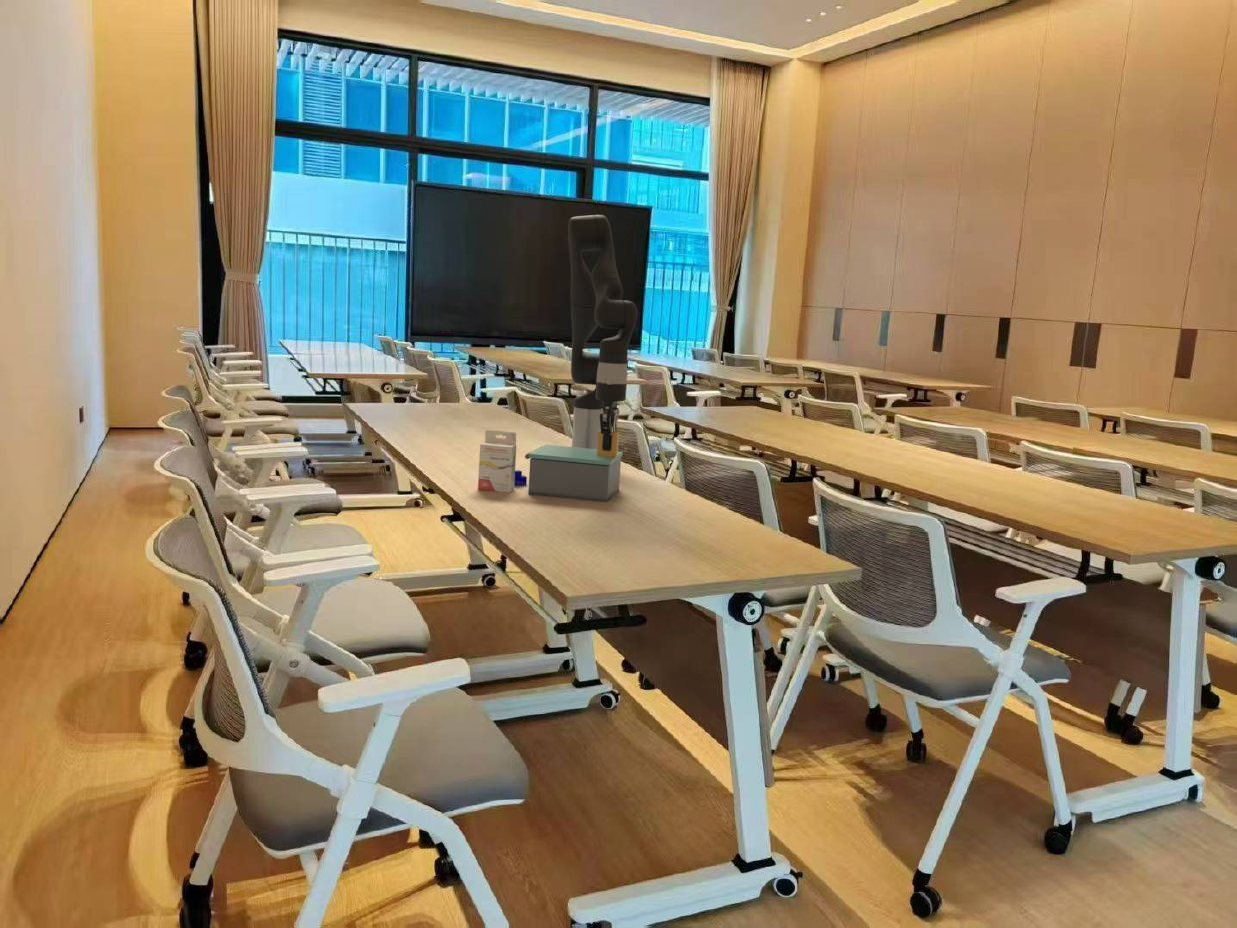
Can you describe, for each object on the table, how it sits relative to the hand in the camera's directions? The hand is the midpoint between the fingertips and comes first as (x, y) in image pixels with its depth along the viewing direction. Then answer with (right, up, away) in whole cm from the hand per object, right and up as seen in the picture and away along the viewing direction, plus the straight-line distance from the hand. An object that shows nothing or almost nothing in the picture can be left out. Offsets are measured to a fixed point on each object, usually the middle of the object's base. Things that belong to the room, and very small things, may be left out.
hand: (607, 449), depth 237 cm
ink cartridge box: (-28, -10, +1) cm, 30 cm away
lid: (-8, -2, +2) cm, 9 cm away
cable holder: (-25, -9, +11) cm, 29 cm away
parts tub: (-8, -11, +3) cm, 14 cm away
